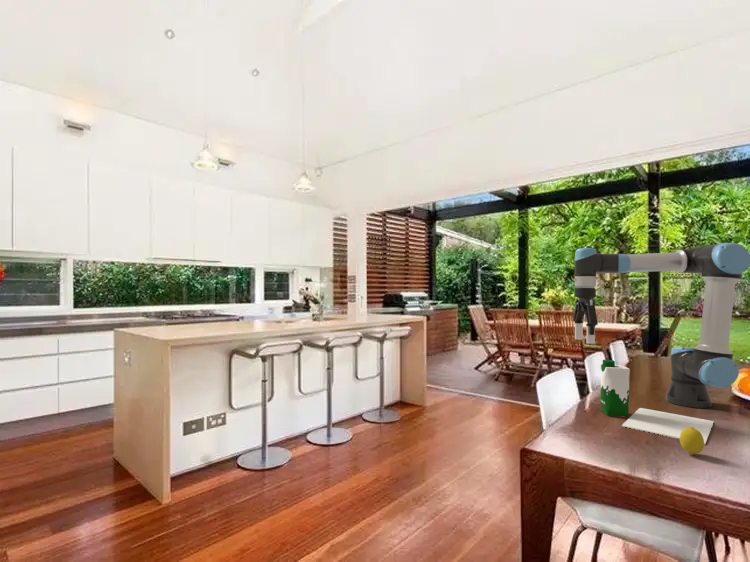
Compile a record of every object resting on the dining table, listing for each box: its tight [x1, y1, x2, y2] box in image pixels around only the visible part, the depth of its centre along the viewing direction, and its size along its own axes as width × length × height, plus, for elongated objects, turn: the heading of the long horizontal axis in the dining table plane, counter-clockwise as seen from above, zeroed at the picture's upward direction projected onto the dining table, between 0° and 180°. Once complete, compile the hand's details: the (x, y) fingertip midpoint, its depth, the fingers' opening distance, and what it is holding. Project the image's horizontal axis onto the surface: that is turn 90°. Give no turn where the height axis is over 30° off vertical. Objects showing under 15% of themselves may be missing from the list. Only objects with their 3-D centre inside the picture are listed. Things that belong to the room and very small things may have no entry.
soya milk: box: [599, 359, 631, 418], centre depth 156 cm, size 9×9×20 cm
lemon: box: [679, 427, 705, 456], centre depth 120 cm, size 6×6×8 cm
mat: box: [621, 407, 715, 446], centre depth 145 cm, size 22×28×1 cm
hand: (584, 341), depth 163 cm, fingers open, 13 cm apart
